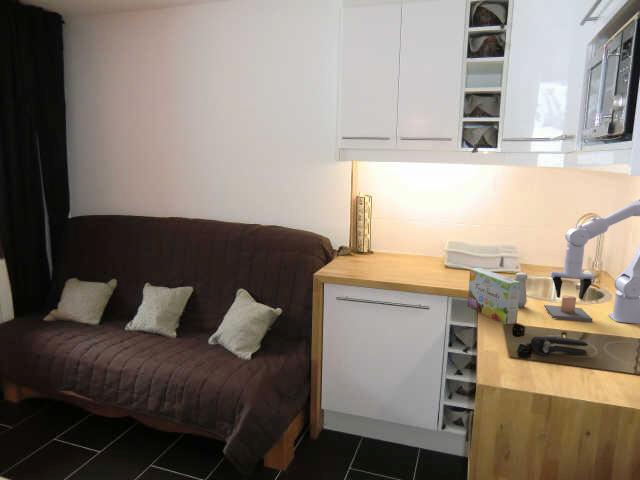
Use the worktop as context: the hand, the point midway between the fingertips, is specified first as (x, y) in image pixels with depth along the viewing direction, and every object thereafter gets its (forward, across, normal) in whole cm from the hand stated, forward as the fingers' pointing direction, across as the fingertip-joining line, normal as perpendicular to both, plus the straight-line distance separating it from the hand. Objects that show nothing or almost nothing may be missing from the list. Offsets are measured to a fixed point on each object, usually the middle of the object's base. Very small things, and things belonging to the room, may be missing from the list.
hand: (569, 297), depth 181 cm
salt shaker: (+6, -16, +6) cm, 18 cm away
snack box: (+7, -28, -9) cm, 30 cm away
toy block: (+5, 0, 0) cm, 5 cm away
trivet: (+6, 0, 0) cm, 6 cm away
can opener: (+7, -14, -40) cm, 43 cm away
